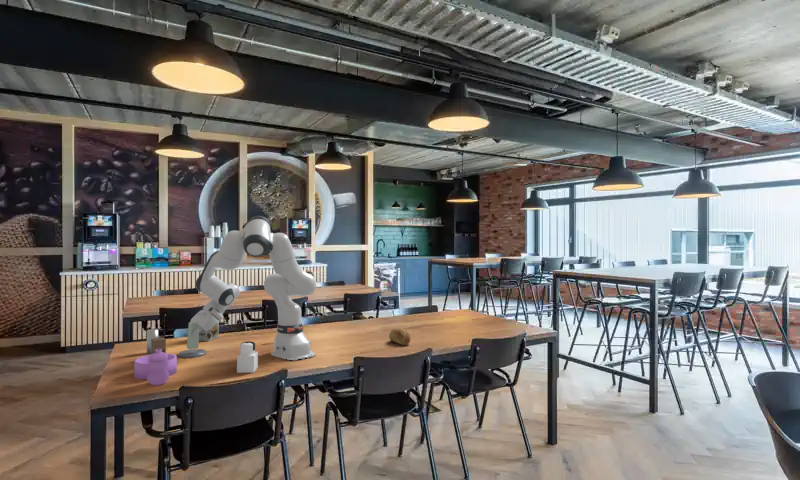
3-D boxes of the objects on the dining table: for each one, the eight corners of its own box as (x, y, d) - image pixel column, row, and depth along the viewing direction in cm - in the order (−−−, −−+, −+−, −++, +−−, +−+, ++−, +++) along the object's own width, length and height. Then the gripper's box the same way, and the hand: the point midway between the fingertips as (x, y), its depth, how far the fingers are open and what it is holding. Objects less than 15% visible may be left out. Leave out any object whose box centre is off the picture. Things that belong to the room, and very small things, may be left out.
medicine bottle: (241, 367, 190) (241, 340, 190) (258, 367, 191) (258, 340, 191) (236, 373, 183) (236, 344, 183) (253, 372, 184) (254, 344, 183)
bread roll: (399, 347, 229) (399, 332, 228) (384, 341, 241) (384, 327, 241) (414, 345, 234) (414, 330, 234) (399, 339, 246) (399, 325, 246)
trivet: (209, 355, 209) (209, 352, 209) (182, 359, 201) (182, 357, 201) (201, 349, 218) (201, 347, 218) (175, 353, 210) (175, 351, 210)
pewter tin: (159, 353, 212) (159, 330, 212) (147, 354, 209) (148, 331, 208) (157, 350, 216) (157, 328, 215) (145, 352, 212) (145, 329, 212)
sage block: (198, 348, 209) (200, 323, 210) (189, 349, 207) (191, 323, 207) (195, 346, 212) (197, 322, 213) (186, 347, 210) (188, 322, 210)
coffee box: (209, 341, 236) (209, 311, 235) (198, 340, 237) (198, 310, 237) (219, 337, 245) (219, 308, 244) (209, 336, 246) (209, 308, 246)
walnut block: (165, 358, 203) (165, 339, 203) (153, 360, 199) (153, 340, 199) (163, 356, 207) (163, 337, 206) (151, 358, 203) (151, 338, 203)
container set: (133, 371, 183) (133, 340, 183) (174, 366, 192) (174, 336, 191) (135, 390, 162) (135, 354, 162) (181, 382, 171) (181, 349, 170)
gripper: (200, 304, 222) (179, 326, 215) (214, 310, 206) (192, 333, 200) (210, 312, 225) (189, 334, 218) (224, 318, 209) (202, 341, 203)
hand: (190, 333), depth 209 cm, fingers closed on sage block, 4 cm apart
